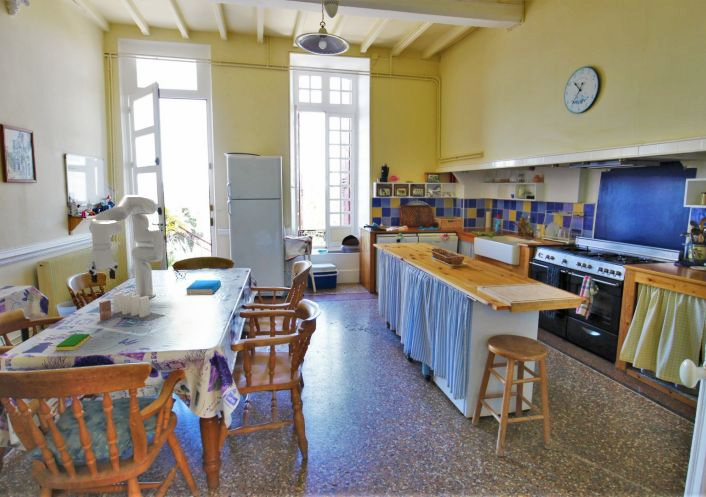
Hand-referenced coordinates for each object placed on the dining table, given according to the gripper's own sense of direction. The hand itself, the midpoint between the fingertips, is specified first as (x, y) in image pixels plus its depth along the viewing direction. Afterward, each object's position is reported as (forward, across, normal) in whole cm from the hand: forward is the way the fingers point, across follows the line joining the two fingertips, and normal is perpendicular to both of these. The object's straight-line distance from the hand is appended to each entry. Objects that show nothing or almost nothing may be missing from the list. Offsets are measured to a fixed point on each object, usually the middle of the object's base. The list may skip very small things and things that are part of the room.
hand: (103, 280), depth 207 cm
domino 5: (+20, -11, +14) cm, 26 cm away
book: (+21, -72, 0) cm, 75 cm away
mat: (+20, -11, +8) cm, 25 cm away
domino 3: (+20, -11, +2) cm, 22 cm away
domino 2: (+20, -11, -4) cm, 23 cm away
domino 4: (+20, -11, +8) cm, 24 cm away
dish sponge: (+21, +28, +16) cm, 39 cm away
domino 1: (+21, 0, 0) cm, 21 cm away
